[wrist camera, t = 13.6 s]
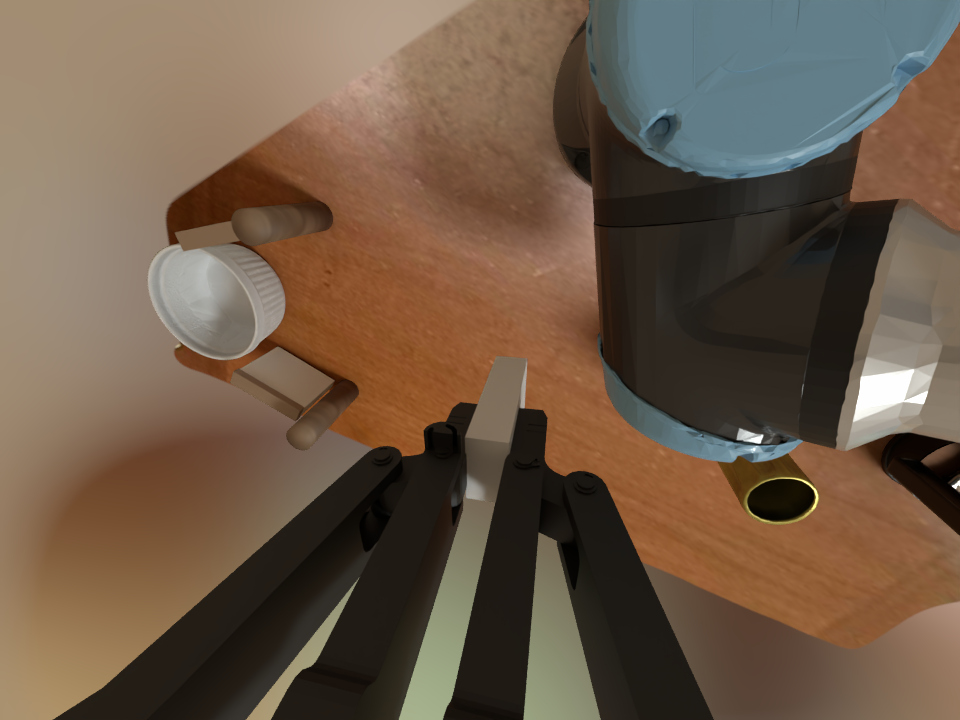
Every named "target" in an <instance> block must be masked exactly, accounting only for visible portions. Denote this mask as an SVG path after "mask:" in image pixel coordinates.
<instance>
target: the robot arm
mask: <svg viewBox="0 0 960 720" xmlns="http://www.w3.org/2000/svg"><path fill="white" fill-rule="evenodd" d="M959 22H960V0H589V15H588V17H587V18H586V19H585V21H584V22H583V23H582V25H581V26H580V27H579V29H578V30H577V32H576V34H575V35H574V37H573V39H572V40H571V42H570V44H569V46H568V48H567V50H566V53H565V55H564V57H563V60H562V63H561V65H560V69H559V72H558V76H557V80H556V85H555V91H554V100H553V116H554V127H555V133H556V137H557V141H558V144H559V147H560V150H561V152H562V154H563V156H564V158H565V160H566V162H567V163H568V165H569V166H570V168H571V169H572V170H573V172H574V173H575V174H576V175H577V176H578V177H579V178H580V179H581V180H582V181H584V182H585V183H586V184H588V185H589V186H591V187H592V192H593V204H594V238H595V255H596V271H597V288H598V305H599V321H600V333H599V334H598V353H599V356H600V358H601V361H602V364H603V371H604V380H605V387H606V391H607V394H608V396H609V398H610V400H611V402H612V404H613V406H614V407H615V409H616V410H617V412H618V413H619V414H620V415H621V416H622V417H623V418H624V420H625V421H627V422H628V423H629V424H630V425H631V426H632V427H634V428H635V429H636V430H638V431H639V432H640V433H642V434H643V435H645V436H647V437H648V438H650V439H652V440H654V441H656V442H657V443H659V444H661V445H664V446H666V447H668V448H671V449H673V450H676V451H678V452H681V453H684V454H687V455H691V456H694V457H698V458H702V459H707V460H713V461H719V462H731V463H732V462H733V461H735V460H736V458H737V456H742V457H743V458H745V459H746V460H748V461H750V462H761V461H768V460H772V459H775V458H778V457H781V456H783V455H785V454H787V453H789V452H790V451H791V450H793V449H794V448H795V447H796V446H797V445H798V444H800V443H802V442H803V441H806V442H810V443H814V444H818V445H822V446H826V447H830V448H834V449H838V450H842V451H847V450H850V449H853V448H855V447H858V446H861V445H863V444H866V443H869V442H871V441H874V440H877V439H879V438H882V437H885V436H887V435H890V434H898V433H906V432H910V433H915V434H920V435H925V436H929V437H934V438H939V439H943V440H948V441H953V442H958V443H960V231H959V230H956V229H953V228H950V227H949V226H948V225H946V224H945V223H944V222H942V221H941V220H940V219H938V218H937V217H936V216H934V215H933V214H932V213H930V212H929V211H928V210H926V209H925V208H924V207H922V206H921V205H920V204H918V203H917V202H915V201H914V200H913V199H892V200H880V201H868V202H851V201H850V192H851V189H852V183H853V178H854V173H855V168H856V163H857V158H858V153H859V148H860V143H861V138H862V133H863V130H864V129H865V128H867V127H868V126H869V125H870V124H871V123H873V122H874V121H875V120H876V119H878V118H879V117H880V116H882V115H883V114H884V113H885V112H886V111H887V110H888V109H890V108H891V107H892V106H893V105H894V104H895V103H896V101H897V99H898V97H899V95H900V93H901V92H902V91H903V90H904V88H905V87H906V85H907V84H908V83H909V82H910V81H911V80H912V79H913V78H914V77H915V76H917V75H918V74H920V73H922V72H923V71H925V70H926V69H927V68H929V67H930V66H931V64H932V63H933V62H934V60H935V59H936V57H937V56H938V55H939V53H940V52H941V50H942V49H943V47H944V46H945V44H946V43H947V42H948V40H949V39H950V37H951V35H952V34H953V32H954V30H955V29H956V27H957V25H958V23H959ZM526 373H527V358H515V357H503V356H496V359H495V361H494V364H493V366H492V369H491V371H490V374H489V377H488V379H487V382H486V384H485V387H484V389H483V392H482V395H481V397H480V400H479V402H478V404H471V403H462V402H460V403H459V404H458V405H456V406H455V407H454V408H453V409H452V411H451V413H450V415H449V417H448V419H447V421H446V422H437V423H433V424H431V425H429V426H427V427H426V428H425V430H424V441H425V451H424V453H422V454H419V455H414V456H403V457H402V454H401V452H400V451H399V450H398V449H396V448H395V447H390V446H383V447H378V448H375V449H373V450H371V451H369V452H368V453H367V454H366V455H364V456H363V457H362V458H361V459H360V460H359V461H358V462H357V463H355V464H354V465H353V466H352V467H351V468H350V469H349V470H347V471H346V472H345V473H344V474H343V475H342V476H341V477H340V478H338V479H337V480H336V481H335V482H334V483H333V484H332V485H331V486H329V487H328V488H327V489H326V490H325V491H324V492H323V493H322V494H320V495H319V496H318V497H317V498H316V499H315V500H314V501H313V502H311V503H310V504H309V505H308V506H307V507H306V508H305V509H304V510H303V511H301V512H300V513H299V514H298V515H297V516H296V517H295V518H293V519H292V520H291V521H290V522H289V523H288V524H287V525H286V526H284V527H283V528H282V529H281V530H280V531H279V532H278V533H277V534H276V535H274V536H273V537H272V538H271V539H270V540H269V541H268V542H266V543H265V544H264V545H263V546H262V547H261V548H260V549H259V550H257V551H256V552H255V553H254V554H253V555H252V556H251V557H250V558H249V559H247V560H246V561H245V562H244V563H243V564H242V565H241V566H239V567H238V568H237V569H236V570H235V571H234V572H233V573H231V574H230V575H229V576H228V577H227V578H226V579H225V580H224V581H222V582H221V583H220V584H219V585H218V586H217V587H216V588H215V589H214V590H212V591H211V592H210V593H209V594H208V595H207V596H206V597H204V598H203V599H202V600H201V601H200V602H199V603H198V604H197V605H196V606H194V607H193V608H192V609H191V610H190V611H189V612H188V613H186V614H185V615H184V616H183V617H182V618H181V619H180V620H179V621H177V622H176V623H175V624H174V625H173V626H172V627H171V628H170V629H168V630H167V631H166V632H165V633H164V634H163V635H162V636H161V637H159V639H157V640H156V641H155V642H154V643H153V644H152V645H150V646H149V647H148V648H147V649H146V650H145V651H144V652H143V653H142V654H140V655H139V656H138V657H137V658H136V659H135V660H134V661H132V662H131V663H130V664H129V665H128V666H127V667H126V668H125V669H123V670H122V671H121V672H120V673H119V674H118V675H117V676H116V677H114V678H113V679H112V680H111V681H110V682H109V683H108V684H107V685H105V686H104V687H103V688H102V689H100V690H99V691H97V692H96V693H94V694H92V695H91V696H89V697H88V698H86V699H85V700H83V701H81V702H80V703H79V704H77V705H76V706H74V707H72V708H71V709H69V710H67V711H66V712H64V713H63V714H61V715H60V716H58V717H56V718H55V719H53V720H246V719H247V718H248V716H249V715H250V714H251V713H252V711H253V710H254V709H255V707H256V706H257V705H258V704H259V702H260V701H261V700H262V699H263V697H264V696H265V695H266V694H267V692H268V691H269V690H270V689H271V687H272V686H273V685H274V684H275V682H276V681H277V680H278V679H279V677H280V676H281V675H282V673H283V672H284V671H285V669H287V667H288V666H289V665H290V663H291V662H292V661H293V660H294V659H295V657H296V656H297V655H298V653H299V652H300V651H301V650H302V648H303V647H304V646H305V645H306V643H307V642H308V641H309V640H310V638H311V637H312V636H313V635H314V633H315V632H316V631H317V630H318V628H319V627H320V626H321V625H322V623H323V622H324V621H325V620H326V618H327V617H328V616H329V615H330V613H331V612H332V611H333V610H334V608H335V607H336V606H337V605H338V603H339V602H340V601H341V599H342V598H343V597H344V596H345V594H346V593H347V592H348V591H349V589H350V588H351V587H352V586H353V584H354V583H355V582H356V581H357V579H358V578H359V577H360V578H359V580H358V582H357V584H356V586H355V587H354V589H353V591H352V593H351V595H350V597H349V599H348V601H347V603H346V605H345V607H344V609H343V611H342V613H341V615H340V617H339V619H338V621H337V623H336V625H335V627H334V628H333V630H332V632H331V634H330V636H329V638H328V640H327V642H326V644H325V646H324V648H323V650H322V652H321V654H320V656H319V657H318V659H317V661H316V662H315V663H314V664H313V665H312V666H311V667H309V668H306V669H303V670H302V671H301V672H300V673H299V674H298V675H297V676H296V677H295V678H294V680H293V682H292V683H291V685H290V686H289V688H288V689H287V691H286V693H285V695H284V697H283V698H282V701H281V702H280V704H279V706H278V708H277V710H276V711H275V713H274V715H273V717H272V719H271V720H399V716H400V713H401V710H402V707H403V704H404V700H405V697H406V694H407V690H408V687H409V684H410V681H411V677H412V674H413V671H414V668H415V664H416V661H417V658H418V655H419V651H420V648H421V645H422V642H423V638H424V635H425V631H426V629H427V625H428V622H429V619H430V615H431V612H432V609H433V606H434V602H435V599H436V596H437V593H438V589H439V586H440V583H441V580H442V576H443V573H444V570H445V567H446V563H447V560H448V557H449V553H450V550H451V547H452V544H453V540H454V537H455V534H456V531H457V527H458V524H459V521H460V517H461V514H462V511H463V496H464V493H465V490H466V498H469V499H476V500H482V501H489V502H495V507H494V512H493V516H492V521H491V525H490V530H489V534H488V539H487V543H486V548H485V553H484V557H483V562H482V566H481V570H480V575H479V580H478V584H477V589H476V593H475V598H474V602H473V607H472V611H471V616H470V620H469V625H468V629H467V634H466V638H465V643H464V648H463V652H462V657H461V661H460V666H459V670H458V675H457V679H456V684H455V688H454V692H453V696H452V699H451V702H450V703H449V705H448V706H447V709H446V712H445V714H444V718H443V720H523V716H524V705H525V693H526V680H527V668H528V667H527V666H528V656H529V642H530V630H531V619H532V618H531V617H532V606H533V594H534V581H535V569H536V556H537V545H538V532H539V533H542V534H544V535H546V536H548V537H550V538H552V539H554V540H556V541H557V547H558V551H559V554H560V559H561V563H562V567H563V571H564V574H565V579H566V583H567V586H568V591H569V595H570V599H571V603H572V607H573V611H574V615H575V619H576V623H577V627H578V630H579V634H580V638H581V642H582V646H583V650H584V654H585V658H586V662H587V666H588V670H589V674H590V678H591V682H592V686H593V690H594V694H595V698H596V702H597V706H598V710H599V714H600V718H601V720H714V719H713V717H712V715H711V713H710V710H709V708H708V706H707V704H706V702H705V699H704V697H703V695H702V693H701V691H700V688H699V686H698V684H697V682H696V680H695V678H694V675H693V674H692V671H691V669H690V667H689V665H688V662H687V660H686V658H685V656H684V654H683V651H682V649H681V647H680V645H679V643H678V641H677V638H676V636H675V634H674V632H673V630H672V628H671V625H670V623H669V621H668V619H667V617H666V614H665V612H664V610H663V608H662V606H661V604H660V601H659V599H658V597H657V595H656V593H655V590H654V588H653V586H652V584H651V582H650V580H649V577H648V575H647V573H646V571H645V569H644V567H643V564H642V562H641V560H640V558H639V556H638V553H637V551H636V549H635V547H634V545H633V543H632V540H631V538H630V536H629V534H628V532H627V530H626V527H625V525H624V523H623V521H622V519H621V516H620V514H619V512H618V510H617V508H616V506H615V503H614V501H613V499H612V497H611V495H610V493H609V490H608V488H607V486H606V484H605V483H604V482H603V480H602V479H601V478H599V477H598V476H596V475H595V474H592V473H589V472H585V471H576V472H572V473H570V474H568V475H567V476H566V477H565V476H563V475H560V474H558V473H556V472H554V471H553V470H551V469H550V468H549V467H548V466H547V464H546V462H545V457H544V456H545V443H546V430H547V416H546V415H545V413H544V411H543V410H535V409H526V408H524V407H525V391H526Z"/></svg>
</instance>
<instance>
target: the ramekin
mask: <svg viewBox="0 0 960 720" xmlns="http://www.w3.org/2000/svg"><path fill="white" fill-rule="evenodd" d="M147 283H148V291H149V295H150V298H151V302H152V304H153V306H154V309H155V311H156V313H157V314H158V316H159V318H160V319H161V321H162V322H163V324H164V325H165V326H166V328H167V329H168V330H169V331H170V332H171V333H172V334H173V335H174V336H175V337H176V338H177V339H178V340H179V341H180V342H182V343H183V344H184V345H186V346H187V347H188V348H190V349H192V350H193V351H195V352H197V353H199V354H201V355H204V356H206V357H209V358H213V359H219V360H232V359H237V358H239V357H242V356H244V355H246V354H248V353H250V352H251V351H253V350H254V349H255V348H256V347H257V346H258V344H259V343H260V342H261V341H262V340H263V339H265V338H266V337H267V336H268V335H270V334H271V333H272V332H273V331H274V330H275V329H276V328H277V327H278V325H279V324H280V323H281V320H282V319H283V315H284V312H285V295H284V290H283V287H282V284H281V282H280V280H279V278H278V276H277V274H276V273H275V271H274V270H273V269H272V268H271V266H270V265H269V264H268V263H267V262H266V261H265V260H264V259H262V258H261V257H260V256H259V255H257V254H256V253H255V252H253V251H251V250H250V249H247V248H245V247H243V246H239V245H236V244H231V243H226V244H220V245H215V246H210V247H205V248H199V249H194V250H189V251H184V252H183V250H182V247H181V245H180V243H178V244H174V245H170V246H167V247H165V248H163V249H162V250H160V251H159V252H158V253H157V254H156V255H155V256H154V258H153V259H152V261H151V263H150V266H149V270H148V277H147Z"/></svg>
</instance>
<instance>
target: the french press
mask: <svg viewBox="0 0 960 720" xmlns="http://www.w3.org/2000/svg"><path fill="white" fill-rule="evenodd" d="M952 443H955V442H953V441H948V440H943V439H939V438H934V437H929V436H925V435H920V434H915V433H910V432H906V433H898V434H897V435H896V436H895V437H894V438H893V439H892V440H891V441H890V442H889V443H888V445H887V446H886V448H885V450H884V452H883V455H882V466H883V468H884V470H885V472H886V474H887V475H888V476H889V477H890V478H891V479H892V480H894V481H895V482H897V483H898V484H901V485H902V486H903V487H905V488H906V489H907V490H908V491H909V492H910V493H911V494H912V495H914V496H915V497H916V498H917V499H919V500H920V501H921V502H922V503H924V504H925V505H926V506H927V507H928V508H929V509H930V510H931V511H933V512H934V513H935V514H936V515H937V516H938V517H939V518H940V519H942V520H943V521H944V522H945V523H946V524H947V525H948V526H949V527H951V528H952V529H953V530H954V531H955V532H956V533H957V534H958V535H960V471H958V472H956V473H954V474H953V475H951V476H949V477H946V478H941V477H940V476H938V475H937V474H936V473H935V472H933V471H932V470H931V469H929V468H928V467H927V466H926V465H924V464H923V463H922V462H920V461H922V460H923V459H924V458H925V457H926V456H927V455H929V454H931V453H932V452H934V451H935V450H937V449H940V448H942V447H944V446H946V445H949V444H952Z"/></svg>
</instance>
